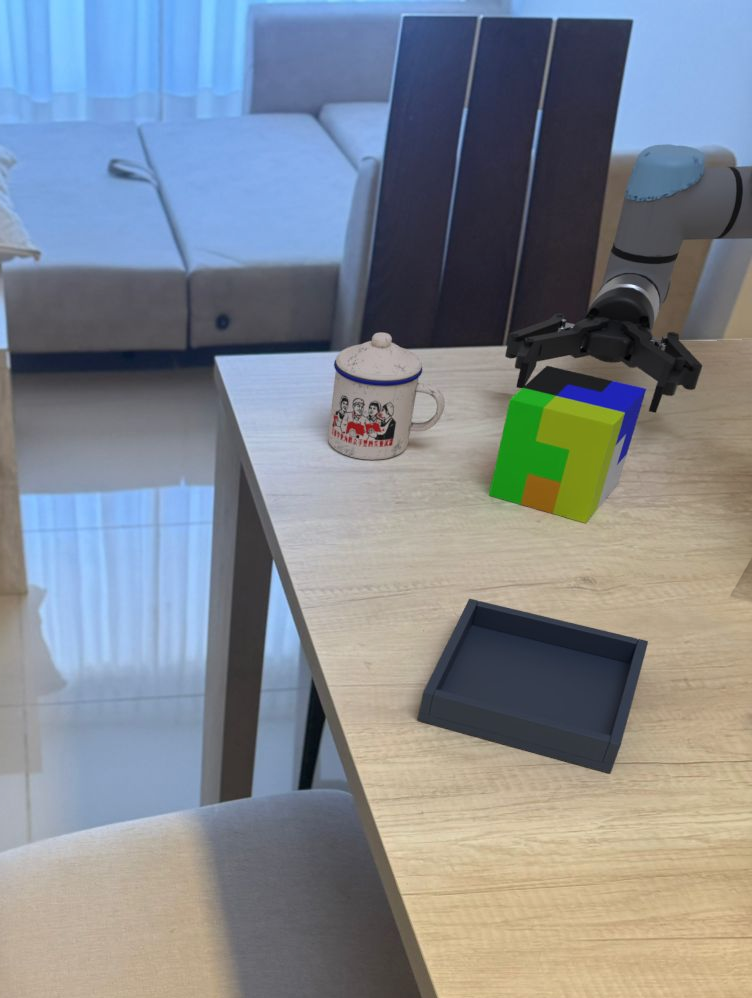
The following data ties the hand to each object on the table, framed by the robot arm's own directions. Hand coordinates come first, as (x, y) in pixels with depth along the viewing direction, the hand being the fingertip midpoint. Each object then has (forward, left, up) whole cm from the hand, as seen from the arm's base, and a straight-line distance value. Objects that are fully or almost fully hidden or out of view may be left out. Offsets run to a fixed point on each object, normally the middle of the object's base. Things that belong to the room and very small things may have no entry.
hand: (588, 387), depth 120 cm
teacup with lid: (+19, +8, -7) cm, 22 cm away
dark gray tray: (-5, +46, -7) cm, 47 cm away
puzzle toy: (0, +10, -7) cm, 12 cm away
